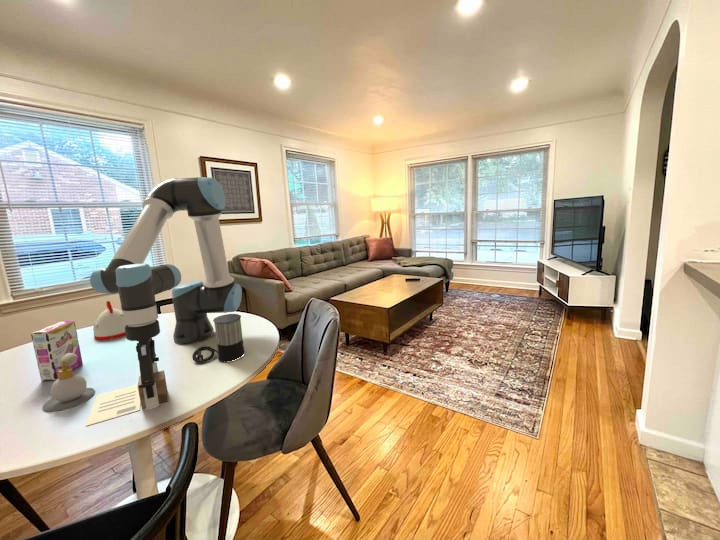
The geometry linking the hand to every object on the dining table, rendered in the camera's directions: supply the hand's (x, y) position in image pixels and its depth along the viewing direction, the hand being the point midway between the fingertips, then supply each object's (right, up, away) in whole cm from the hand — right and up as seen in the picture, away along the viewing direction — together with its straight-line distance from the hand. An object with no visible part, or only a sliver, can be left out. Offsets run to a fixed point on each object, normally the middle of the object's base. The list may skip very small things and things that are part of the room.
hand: (153, 395), depth 87 cm
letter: (-10, -2, 0) cm, 10 cm away
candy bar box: (-43, 0, +19) cm, 47 cm away
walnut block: (0, -2, +1) cm, 2 cm away
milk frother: (+7, +3, +26) cm, 27 cm away
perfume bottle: (-26, -2, +3) cm, 26 cm away
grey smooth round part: (-26, -2, +3) cm, 26 cm away
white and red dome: (-52, +6, +52) cm, 74 cm away
